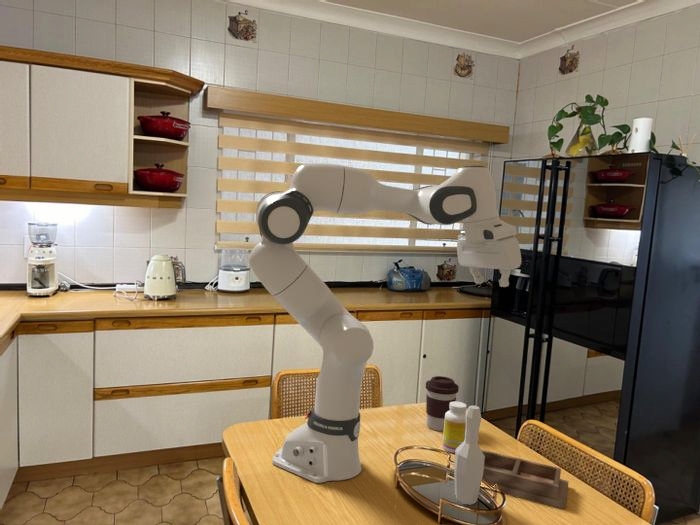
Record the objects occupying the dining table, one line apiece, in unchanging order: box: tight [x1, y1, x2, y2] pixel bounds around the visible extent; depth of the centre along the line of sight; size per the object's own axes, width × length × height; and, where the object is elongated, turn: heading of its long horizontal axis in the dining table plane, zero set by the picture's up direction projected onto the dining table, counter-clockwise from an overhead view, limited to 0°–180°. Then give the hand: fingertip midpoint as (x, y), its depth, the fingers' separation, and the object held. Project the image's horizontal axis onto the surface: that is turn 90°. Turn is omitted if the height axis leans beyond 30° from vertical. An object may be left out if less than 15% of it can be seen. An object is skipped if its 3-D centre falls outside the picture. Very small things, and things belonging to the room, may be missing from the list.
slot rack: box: [481, 449, 569, 510], centre depth 135 cm, size 24×12×4 cm, turn 66°
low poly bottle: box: [453, 405, 485, 502], centre depth 125 cm, size 6×6×22 cm
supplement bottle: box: [441, 400, 468, 454], centre depth 153 cm, size 7×7×13 cm
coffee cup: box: [425, 375, 460, 432], centre depth 168 cm, size 10×10×15 cm
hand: (491, 284), depth 138 cm, fingers open, 8 cm apart
